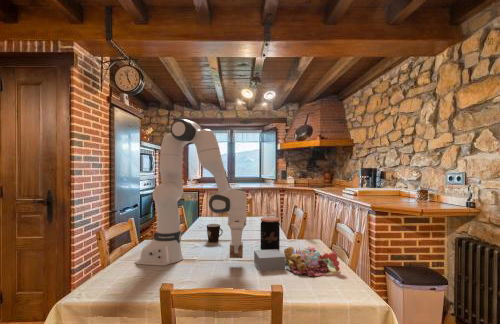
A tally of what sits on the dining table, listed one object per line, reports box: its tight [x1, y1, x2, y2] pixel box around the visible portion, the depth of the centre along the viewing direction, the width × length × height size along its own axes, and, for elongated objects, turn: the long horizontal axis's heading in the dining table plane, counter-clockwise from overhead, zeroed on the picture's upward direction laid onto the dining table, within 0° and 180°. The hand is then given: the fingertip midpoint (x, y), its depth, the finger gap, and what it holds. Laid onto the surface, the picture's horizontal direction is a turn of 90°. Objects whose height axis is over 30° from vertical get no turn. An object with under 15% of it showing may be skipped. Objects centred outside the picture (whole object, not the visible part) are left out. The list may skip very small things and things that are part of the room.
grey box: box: [253, 249, 286, 272], centre depth 134 cm, size 12×12×6 cm
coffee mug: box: [206, 223, 224, 243], centre depth 176 cm, size 12×9×10 cm
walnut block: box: [229, 241, 244, 259], centre depth 134 cm, size 6×6×6 cm
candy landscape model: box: [283, 246, 341, 277], centre depth 132 cm, size 25×24×9 cm
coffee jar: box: [260, 216, 281, 251], centre depth 157 cm, size 11×11×18 cm
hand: (236, 250), depth 134 cm, fingers closed on walnut block, 6 cm apart
